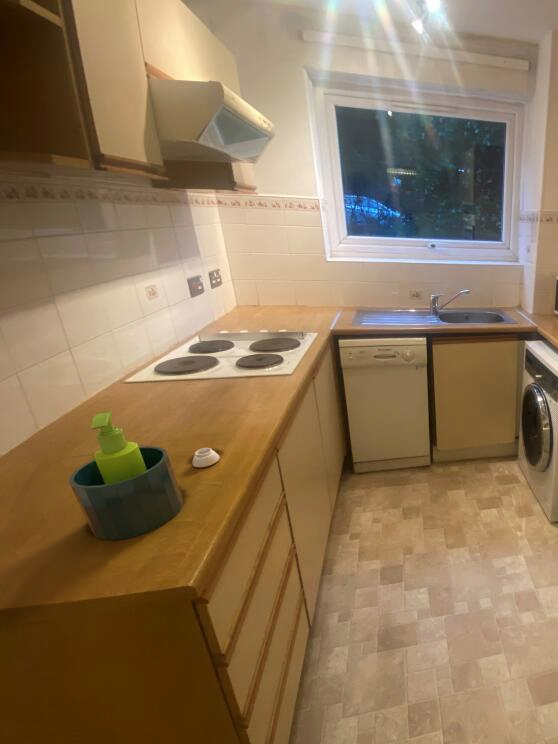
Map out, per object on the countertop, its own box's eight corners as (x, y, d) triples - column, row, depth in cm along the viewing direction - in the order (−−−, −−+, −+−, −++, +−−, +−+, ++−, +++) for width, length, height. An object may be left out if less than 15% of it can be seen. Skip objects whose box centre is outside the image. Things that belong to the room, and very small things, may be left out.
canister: (79, 549, 73) (53, 495, 68) (109, 503, 84) (88, 455, 80) (174, 527, 78) (155, 476, 74) (190, 487, 89) (174, 440, 85)
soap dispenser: (116, 528, 76) (72, 428, 69) (122, 507, 82) (82, 412, 74) (157, 516, 79) (120, 419, 72) (161, 496, 85) (126, 404, 77)
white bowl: (218, 454, 101) (192, 461, 98) (214, 443, 99) (188, 450, 96) (221, 463, 97) (194, 471, 94) (218, 452, 96) (190, 459, 93)
